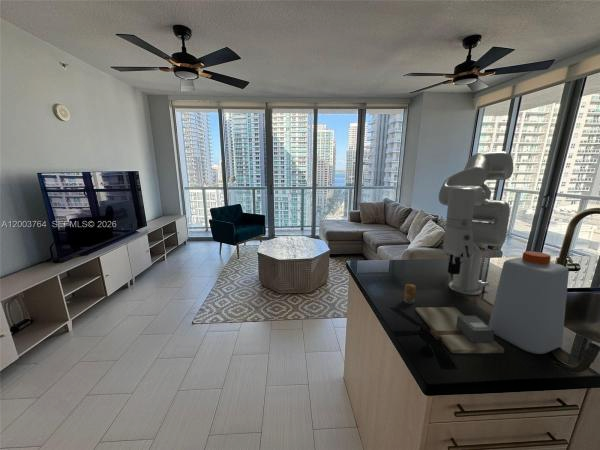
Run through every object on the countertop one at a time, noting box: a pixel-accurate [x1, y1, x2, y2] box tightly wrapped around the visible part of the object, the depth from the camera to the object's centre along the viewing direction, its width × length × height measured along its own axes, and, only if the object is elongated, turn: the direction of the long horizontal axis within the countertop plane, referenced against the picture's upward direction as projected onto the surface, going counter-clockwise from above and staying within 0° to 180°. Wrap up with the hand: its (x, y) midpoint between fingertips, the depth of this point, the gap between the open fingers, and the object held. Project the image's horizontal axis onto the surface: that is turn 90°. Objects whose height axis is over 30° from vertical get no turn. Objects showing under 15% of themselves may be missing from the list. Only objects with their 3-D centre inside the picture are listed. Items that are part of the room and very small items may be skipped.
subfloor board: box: [415, 306, 505, 354], centre depth 84 cm, size 18×24×1 cm
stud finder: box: [456, 315, 495, 342], centre depth 78 cm, size 6×8×4 cm
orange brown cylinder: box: [403, 283, 417, 305], centre depth 102 cm, size 4×4×7 cm
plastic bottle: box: [488, 250, 570, 355], centre depth 76 cm, size 15×15×28 cm
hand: (453, 273), depth 89 cm, fingers closed
